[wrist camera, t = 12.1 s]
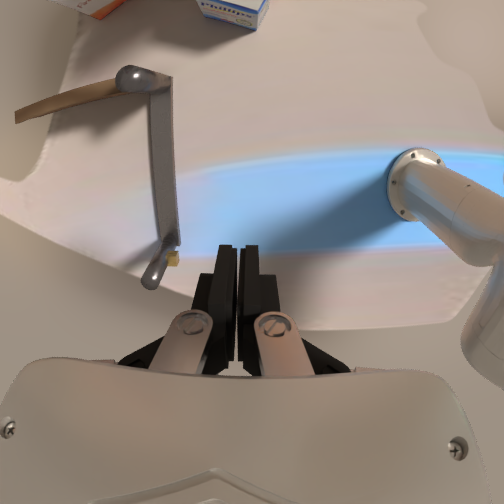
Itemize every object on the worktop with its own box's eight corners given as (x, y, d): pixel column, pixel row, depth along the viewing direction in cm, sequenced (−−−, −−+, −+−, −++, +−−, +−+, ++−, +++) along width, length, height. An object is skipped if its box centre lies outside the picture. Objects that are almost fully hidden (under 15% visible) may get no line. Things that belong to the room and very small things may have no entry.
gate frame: (179, 73, 31) (149, 61, 21) (186, 245, 45) (168, 291, 34) (152, 76, 31) (115, 68, 21) (163, 245, 45) (140, 289, 34)
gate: (145, 92, 31) (126, 91, 26) (40, 118, 31) (15, 124, 25) (145, 79, 30) (126, 75, 25) (40, 106, 30) (14, 111, 24)
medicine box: (203, 17, 27) (191, -4, 20) (215, -7, 25) (207, -31, 18) (257, 32, 29) (258, 13, 21) (269, 8, 27) (273, -15, 19)
